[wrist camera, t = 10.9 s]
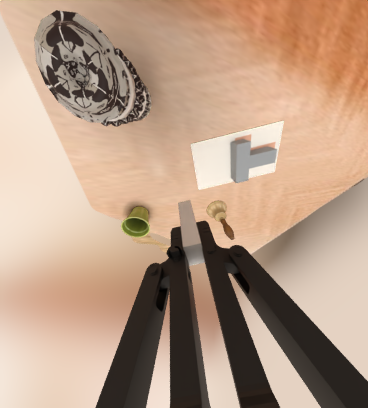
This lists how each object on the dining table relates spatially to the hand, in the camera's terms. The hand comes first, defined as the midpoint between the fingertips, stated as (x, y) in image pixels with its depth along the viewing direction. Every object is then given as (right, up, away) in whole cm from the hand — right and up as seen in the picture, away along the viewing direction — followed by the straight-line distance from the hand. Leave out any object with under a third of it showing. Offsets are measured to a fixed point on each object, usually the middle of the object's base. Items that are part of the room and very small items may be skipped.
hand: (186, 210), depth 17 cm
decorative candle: (-13, +27, +16) cm, 34 cm away
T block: (+21, +16, +27) cm, 38 cm away
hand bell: (+13, -1, +38) cm, 40 cm away
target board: (+17, +16, +27) cm, 36 cm away
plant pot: (-18, -2, +35) cm, 40 cm away
